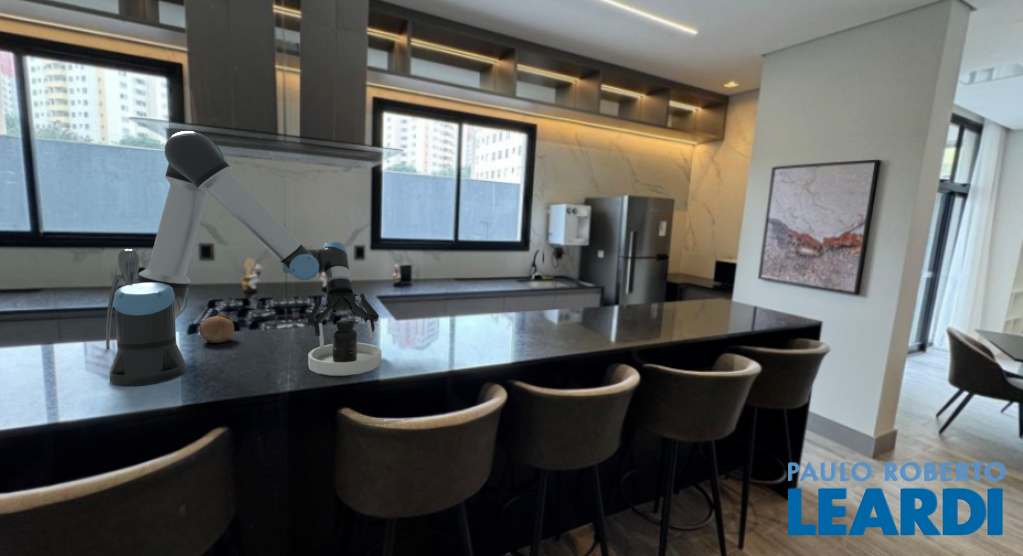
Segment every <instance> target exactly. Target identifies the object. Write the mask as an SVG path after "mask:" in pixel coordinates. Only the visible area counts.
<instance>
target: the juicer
mask: <svg viewBox="0 0 1023 556" xmlns="http://www.w3.org/2000/svg"><path fill="white" fill-rule="evenodd" d="M117 263H118V269H119V271H120V273H119V274H118V273H115V274H114V278H113V281H112V284H111V287H110V288H111V289H110V292H109V297H108V303H107V304H108V305H107V312H106V325H105V347H106V349H108V348H111V347H110V345H111V344H110V342H111V340H110V339H111V324H112V314H113V308H114V304H113V301H114V295H115V292H116V291H117V290H118V285H119V282H121V281H122V282H124V283H125V286H127V285H132V284H136V283H137V279H138V276H139V273H140V272H139V269H140V256H139V253H138V252H137V251H136V250H134V249H130V248H129V249H128V248H126V249H122V250H121V251H120V252H119V253H118V256H117Z"/></svg>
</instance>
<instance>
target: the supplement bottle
mask: <svg viewBox="0 0 1023 556" xmlns="http://www.w3.org/2000/svg"><path fill="white" fill-rule="evenodd" d="M357 343H358V332H357V330H356V329H355V321H354V320H352V319H351V320H350V319H342V320H338V321H337V320H336V330H334V331H333V333H332V344H333V361H334V362H352V361H356V360H357Z"/></svg>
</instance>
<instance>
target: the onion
mask: <svg viewBox="0 0 1023 556" xmlns="http://www.w3.org/2000/svg"><path fill="white" fill-rule="evenodd" d="M234 332H235V324H234V323H233V321H232V318H230V317H229V316H227V315H226V314H222V313H220V314H217V315H213V316H209V317H207V318H205V319H204V320H203V321H201V323H200V325H199V335H200V336H201V337H202V339H204V340H205V341H206V343H210V344H222V343H226V342H227V341H229V340H231V339H232V336H233V334H234ZM221 342H222V343H221Z"/></svg>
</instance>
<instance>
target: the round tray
mask: <svg viewBox="0 0 1023 556" xmlns="http://www.w3.org/2000/svg"><path fill="white" fill-rule="evenodd" d="M307 360H308V362H307V363H308V365H307V366H308V369H309V370H310V371H312V372H314V373H316V374H319V375H325V376H351V375H359V374H364V373H367V372H370V371H373V370H375V369H377V368H378V367H380V365H381V364H382V349H381V348H380V347H379V346H377V345H374V344H372V343H365V342H357V360H356V361H352V362H334V361H333V343H331V344H326V345H325V344H324V345H323V347H320V346H318V347H316V348H313V349H312V350H310V351H309V352H308V355H307Z"/></svg>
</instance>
